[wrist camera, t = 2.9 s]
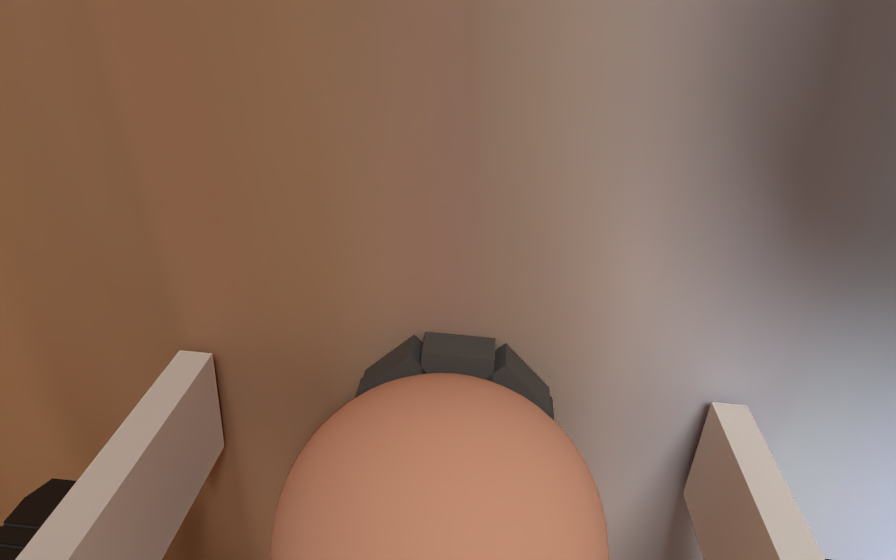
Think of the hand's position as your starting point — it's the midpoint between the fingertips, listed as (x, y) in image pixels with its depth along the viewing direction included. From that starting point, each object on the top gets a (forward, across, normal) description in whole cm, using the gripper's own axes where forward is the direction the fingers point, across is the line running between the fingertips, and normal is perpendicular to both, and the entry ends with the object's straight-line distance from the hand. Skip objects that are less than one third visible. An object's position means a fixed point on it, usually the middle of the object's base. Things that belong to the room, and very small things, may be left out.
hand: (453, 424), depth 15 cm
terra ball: (-3, 0, 0) cm, 3 cm away
